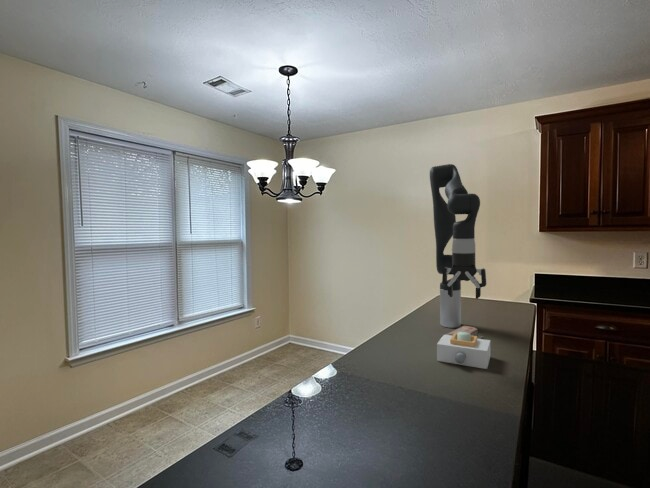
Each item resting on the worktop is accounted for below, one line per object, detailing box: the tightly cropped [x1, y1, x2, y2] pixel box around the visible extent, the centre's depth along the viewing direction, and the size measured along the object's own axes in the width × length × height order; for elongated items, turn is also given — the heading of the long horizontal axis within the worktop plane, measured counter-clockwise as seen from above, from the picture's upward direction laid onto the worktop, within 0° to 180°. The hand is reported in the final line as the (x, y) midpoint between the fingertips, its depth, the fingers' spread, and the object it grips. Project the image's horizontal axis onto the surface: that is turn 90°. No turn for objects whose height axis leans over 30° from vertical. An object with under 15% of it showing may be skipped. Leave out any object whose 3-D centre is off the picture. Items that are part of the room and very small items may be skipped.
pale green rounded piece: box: [457, 332, 471, 342], centre depth 125 cm, size 4×4×9 cm
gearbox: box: [436, 333, 491, 370], centre depth 124 cm, size 15×16×8 cm
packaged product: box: [446, 325, 484, 339], centre depth 145 cm, size 18×5×10 cm
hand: (463, 297), depth 124 cm, fingers open, 8 cm apart
